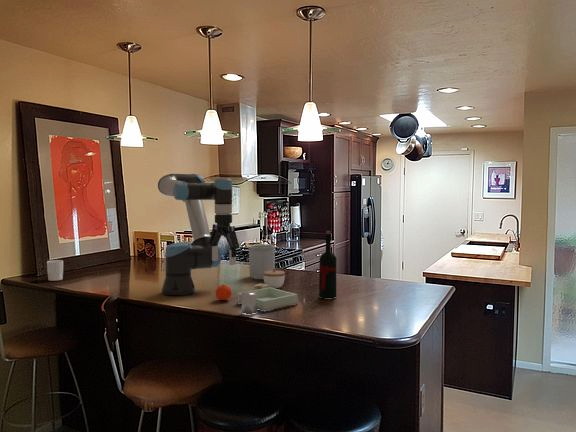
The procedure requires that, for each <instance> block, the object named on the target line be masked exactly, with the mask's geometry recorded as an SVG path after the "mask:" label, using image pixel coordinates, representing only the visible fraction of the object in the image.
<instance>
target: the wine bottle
mask: <svg viewBox="0 0 576 432" xmlns="http://www.w3.org/2000/svg"><path fill="white" fill-rule="evenodd" d="M331 235H332V234H331V230H325V252H323V253H322V254H321V255H320V257H319V265H318V266H319V269H318V270H319V272H318V273H319V276H318V277H319V278H318V281H319V282H318V297H319V296H320V297H322V298H334V297H336V298H337V257H336V255H335V253H333V252H331V250H332V249H331V248H332V247H331V245H332V244H331V241H332V240H331Z"/></svg>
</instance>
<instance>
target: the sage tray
mask: <svg viewBox="0 0 576 432" xmlns="http://www.w3.org/2000/svg"><path fill="white" fill-rule="evenodd" d="M243 292H244V291H243ZM243 292H237V303H238V302H239V303H242V293H243ZM247 292H256V293H257V309H260V310H268V309H272V308H278V307H282V306H286V305H291V304H296V303H297V304H298V294H297V293H294V292H291V291H285V290H282V289H280V288H279V289H275V288H271V287H269V288H264V289H258V290H254V289H253V290H248V291H247Z"/></svg>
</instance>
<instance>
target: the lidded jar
mask: <svg viewBox="0 0 576 432" xmlns="http://www.w3.org/2000/svg"><path fill="white" fill-rule="evenodd" d="M263 275H264V279H263V282H264V284H268V285H269V287H271V288H279V287H280V288H281V287H282V286H283V285H284V282H285V279H286V277H285V276H286V272H285V271H283V270H277V269H276V268H275V269H273V270H270V271H265V272H263ZM280 288H279V289H280Z"/></svg>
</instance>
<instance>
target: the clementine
mask: <svg viewBox="0 0 576 432" xmlns="http://www.w3.org/2000/svg"><path fill="white" fill-rule="evenodd" d="M232 294H233V293H232V289H231V287H230V286H229V285H227V284H220V285H219V286H217V288H216V289H215V296H216V298H217V300H219V301H221V300H225V301H228V300H229V299H230V298H231V296H232Z"/></svg>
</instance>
